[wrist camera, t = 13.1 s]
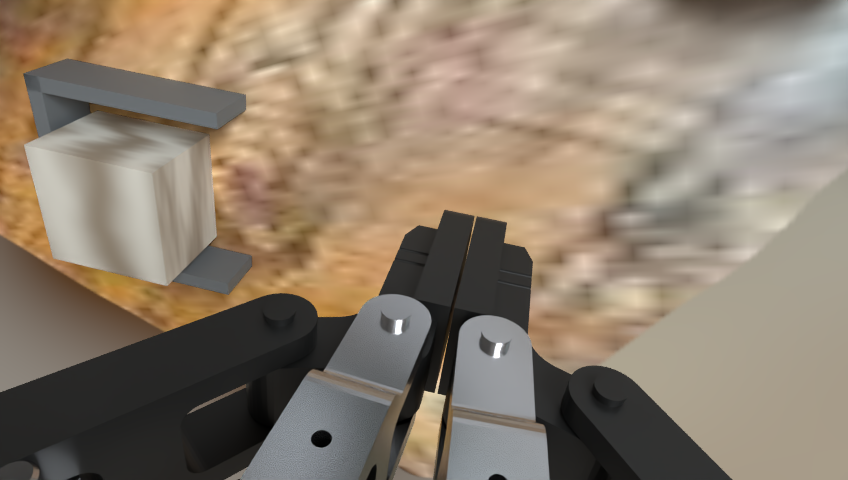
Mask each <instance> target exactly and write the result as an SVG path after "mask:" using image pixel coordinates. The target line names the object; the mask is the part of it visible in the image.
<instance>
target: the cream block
mask: <svg viewBox="0 0 848 480" xmlns="http://www.w3.org/2000/svg"><path fill="white" fill-rule="evenodd" d="M24 147H25V151H26V154H27V158H28V162H29V166H30V170H31V174H32V178H33V182H34V185H35V189H36V193H37V197H38V201H39V205H40V209H41V213H42V216H43V220H44V224H45V228H46V232H47V236H48V240H49V244H50V247H51V251H52V255H53V258H54V259H58V260H62V261H67V262H71V263H75V264H79V265H83V266H87V267H91V268H95V269H99V270H104V271H108V272H112V273H116V274H120V275H124V276H128V277H132V278H136V279H141V280H145V281H149V282H153V283H157V284H161V285H165V286H168V285H169V284H170V283H171V282H172V281H173V280H174V279H175V278H176V277H177V276H178V275H179V274H180V273H181V272H182V271H183V270H184V269H185V268H186V267H187V266H188V265H189V264H190V263H191V262H192V261H193V260H194V259H195V258H196V257H197V256H198V255H199V254H200V253H201V252H202V251H203V250H204V249H205V248H206V247H207V246H208V245H209V244H210V243H211V242H212V241H213V240H214V239H215V238H216V237H217V233H216V219H215V205H214V191H213V178H212V164H211V150H210V136H209V134H206V133H202V132H197V131H192V130H188V129H183V128H178V127H173V126H169V125H164V124H159V123H155V122H150V121H145V120H141V119H136V118H131V117H127V116H122V115H117V114H112V113H108V112H103V111H98V110H97V111H95V112H93V113H91V114H89V115H87V116H84V117H82V118H80V119H78V120H76V121H74V122H72V123H70V124H67V125H65V126H63V127H61V128H59V129H57V130H55V131H52V132H50V133H48V134H46V135H44V136H42V137H40V138H38V139H35V140H33V141H31V142H29V143H27V144H25V145H24Z"/></svg>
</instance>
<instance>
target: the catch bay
mask: <svg viewBox="0 0 848 480" xmlns="http://www.w3.org/2000/svg"><path fill="white" fill-rule="evenodd" d="M23 74H24V79H25V83H26V87H27V91H28V95H29V99H30V103H31V107H32V111H33V115H34V119H35V124H36V128H37V132H38V136H39V138H40V137H42V136H44V135H46V134H48V133H50V132H52V131H55V130H57V129H59V128H61V127H63V126H65V125H67V124H70V123H72V122H74V121H76V120H78V119H80V118H82V117H84V116H87V115H89V114H91V113H90V107H89V103H94V104H99V105H104V106H109V107H113V108H118V109H123V110H128V111H132V112H137V113H142V114H147V115H151V116H156V117H161V118H166V119H171V120H175V121H180V122H185V123H190V124H194V125H199V126H204V127H209V128H214V129H219V128H220V127H222V126H223V125H225V124H226V123H227V122H229V121H230V120H232V119H233V118H235V117H236V116H238V115H239V114H240V113H242V112H243V111H245V110H246V95H244V94H239V93H234V92H229V91H224V90H219V89H214V88H210V87H205V86H200V85H195V84H190V83H185V82H180V81H175V80H170V79H165V78H160V77H155V76H150V75H145V74H140V73H135V72H130V71H125V70H121V69H116V68H111V67H106V66H101V65H96V64H91V63H86V62H81V61H76V60H71V59H65V60H62V61H59V62H56V63H53V64H50V65H47V66H44V67H41V68H38V69H35V70H32V71H29V72H26V73H23ZM251 267H252V256H251V255H246V254H242V253H238V252H233V251H229V250H225V249H220V248H216V247H212V246H207V247H206V248H205V249H204V250H203V251H202V252H201V253H200V254H199V255H198V256H197V257H196V258H195V259H194V260H193V261H192V262H191V263H190V264H189V265H188V266H187V267H186V268H185V269H184V270H183V271H182V272H181V273H180V274H179V275H178V276H177V277H176V278H175V279H174V280H173V282H177V283H182V284H186V285H190V286H194V287H198V288H202V289H207V290H211V291H215V292H219V293H223V294H227V295H229V293H230V292H231V291H232V290H233V289H234V287H235V286H236V285H237V284H238V283H239V281H240V280H241V279H242V278H243V276H244V275H245V274H246V273H247V272H248V270H249V269H250V268H251Z"/></svg>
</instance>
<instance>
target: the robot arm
mask: <svg viewBox="0 0 848 480" xmlns="http://www.w3.org/2000/svg"><path fill="white" fill-rule="evenodd" d="M473 221H474V216H472V215H467V214H463V213H458V212H453V211H448V210H444V213H443V216H442V218H441V221H440V224H439V227H438V229H434V228H429V227H424V226H420V225H419V226H417V227H416V228H414V229H413V230H411V231H410V232H409V233H407V234H406V235H405V237H404V239H403V241H402V243H401V246H400V249H399V250H398V253H397V255H396V257H395V261H394V262H393V264H392V266H391V268H390V271H389V273H388V275H387V278H386V280H385V282H384V284H383V287H382V289H381V291H380V293H379V296H377V297H374V298H372V299H370V300H369V301H367V302H366V303H365V304H364V305H363V307H362V308H361V310H360V311H359V313H358V314H355V315H352V316H346V317H318V315H317V311H316V309H315V307H314V306H313V305H312V304H311V303H310V302H309V301H308V300H306V299H304V298H302V297H300V296H297V295H293V294H283V293H279V294H271V295H266V296H263V297H260V298H257V299H254V300H252V301H249V302H246V303H244V304H241V305H238V306H235V307H233V308H230V309H227V310H224V311H222V312H219V313H216V314H213V315H211V316H208V317H205V318H203V319H200V320H197V321H194V322H192V323H189V324H186V325H183V326H181V327H178V328H175V329H172V330H170V331H167V332H164V333H162V334H159V335H156V336H153V337H151V338H148V339H145V340H142V341H140V342H137V343H134V344H131V345H129V346H126V347H123V348H121V349H118V350H115V351H112V352H110V353H107V354H104V355H101V356H99V357H96V358H93V359H91V360H88V361H85V362H82V363H80V364H77V365H74V366H71V367H69V368H66V369H63V370H61V371H58V372H55V373H52V374H50V375H47V376H44V377H41V378H38V379H36V380H33V381H30V382H28V383H25V384H22V385H19V386H17V387H14V388H11V389H8V390H6V391H3V392H0V480H224V479H226V478H228V477H230V476H232V475H233V474H235V473H237V472H239V471H241V470H243V469H244V468H246V467H248V468H247V469H246V471H245V473H244V474H243V476H242V477H241V479H238V480H393V478H394V475H395V472H396V470H397V467H398V464H399V462H400V459H401V456H402V454H403V451H404V448H405V445H406V443H407V440H408V437H409V435H410V432H411V429H412V427H413V424H414V421H415V416H416V412H417V410H418V409H419V407H420V404H421V401H422V397H423V393H424V391H428V392H433V393H435V388H436V384H437V380H438V376H439V372H440V368H441V364H442V360H443V356H444V352H445V348H446V344H447V348H446V353H445V358H444V363H443V368H442V373H441V379H440V384H439V389H438V394H442V395H446V399H445V404H444V408H443V414H442V418H441V423H440V428H439V436H438V444H437V452H436V460H435V468H434V476H433V480H732V479H731V478H730V477H729V476H728V475H727V474H726V473H725V472H724V471H723V470H722V469H721V468H720V467H719V466H718V465H717V464H716V463H715V462H714V461H713V460H712V459H711V458H710V457H709V456H708V455H707V454H706V453H705V452H704V451H703V450H702V449H701V448H700V447H699V446H698V445H697V444H696V443H695V442H694V441H693V440H692V439H691V438H690V437H689V436H688V435H687V434H686V433H685V432H684V431H683V430H682V429H681V428H680V427H679V426H678V425H677V424H676V423H675V422H674V421H673V420H672V419H671V418H670V417H669V416H668V415H667V414H666V413H665V412H664V411H663V410H662V409H661V408H660V407H659V406H658V405H657V404H656V403H655V402H654V401H653V400H652V399H651V398H650V397H649V396H648V395H647V394H646V393H645V392H644V391H643V390H642V389H641V388H640V387H639V386H638V385H637V384H636V383H635V382H634V381H633V380H632V379H630V378H629V377H627V376H626V375H624V374H622V373H621V372H618V371H616V370H614V369H611V368H607V367H603V366H586V367H582V368H580V369H578V370H576V371H575V372H574V373H573V374H572V375H571V374H569V373H567V372H565V371H563V370H561V369H559V368H557V367H555V366H553V365H551V364H550V363H548V362H547V361H545V360H544V359H543V358H542V357H540V356H539V355H538V354H537V352H536V351H535V350H534V349H533V347H532V344H531V340H530V338H529V336H528V322H529V308H530V294H531V290H530V289H531V280H532V279H531V277H532V266H533V261H532V259H531V258H530V256H529V254H528V252H527V251H526V249H525V247H520V246H515V245H510V244H506V243H504V238H505V232H506V225H507V222H502V221H497V220H492V219H487V218H482V217H478V216H477V218H476V222H475V226H474V230H473V234H472V238H471V242H470V237H471V232H472V227H473ZM469 242H470V246H469ZM468 247H469V250H468ZM467 252H468V254H467ZM466 257H467V258H466ZM448 336H449V337H448ZM447 340H448V343H447ZM244 384H246V388H244V389H242V390H240V391H238V392H235V393H233V394H231V395H229V396H227V397H225V398H222V399H220V400H218V401H216V402H214V403H211V404H209V405H207V406H205V407H203V408H201V409H198V410H196V411H194V412H192V413H190V414H188V413H189V412H190V411H191V410H192V409H193V408H195V407H197V406H199V405H201V404H203V403H205V402H207V401H209V400H212V399H214V398H216V397H218V396H220V395H223V394H225V393H227V392H229V391H231V390H233V389H236V388H238V387H240V386H242V385H244Z"/></svg>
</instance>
